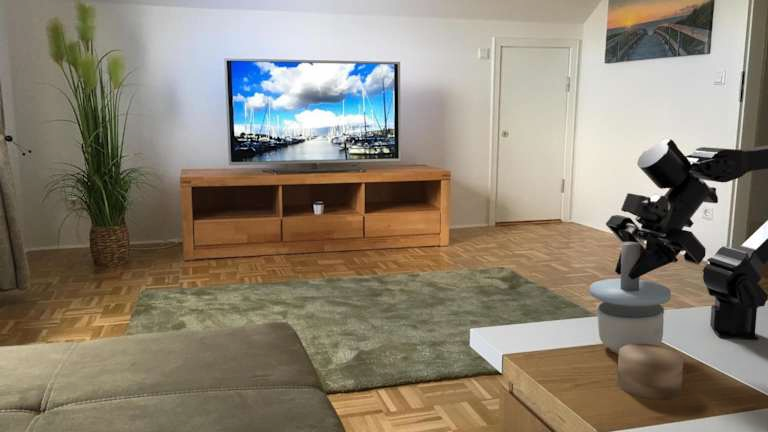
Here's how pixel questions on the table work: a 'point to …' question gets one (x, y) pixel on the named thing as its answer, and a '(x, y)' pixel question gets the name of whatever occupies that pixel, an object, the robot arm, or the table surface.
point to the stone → (650, 371)
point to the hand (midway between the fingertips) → (623, 275)
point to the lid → (630, 284)
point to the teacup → (629, 325)
